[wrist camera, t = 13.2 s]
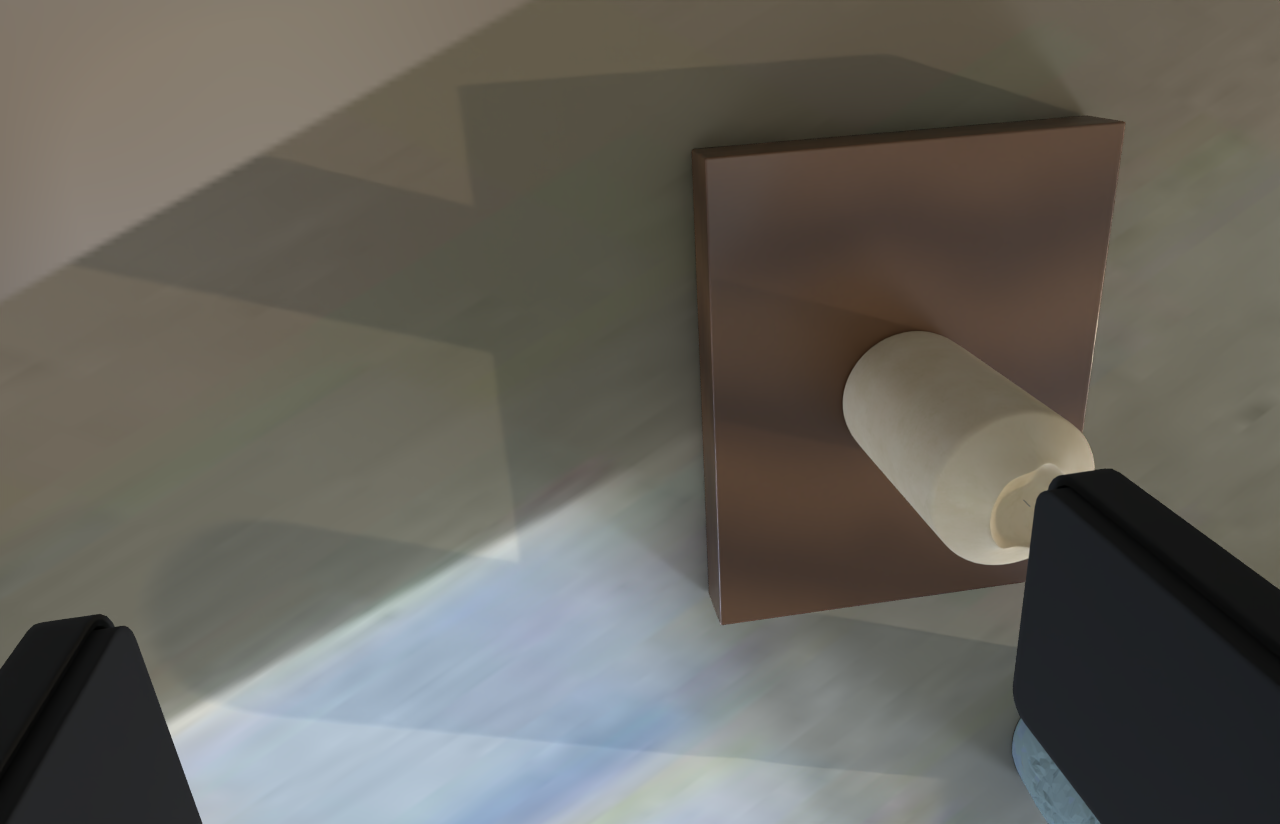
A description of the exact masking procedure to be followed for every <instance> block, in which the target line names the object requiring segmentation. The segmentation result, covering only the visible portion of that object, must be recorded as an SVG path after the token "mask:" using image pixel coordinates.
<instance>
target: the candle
mask: <svg viewBox="0 0 1280 824" xmlns="http://www.w3.org/2000/svg"><path fill="white" fill-rule="evenodd" d="M843 413H844V418H845V421H846V424H847V426H848V429H849V431H850V433H851V434H852V436H853V437H854V439H855V440H856V441H857V443H858V444H859V445H860V446H861V448H862V449H863V450H864V451H865V452H866V454H867V455H868V456H869V457H870V458H871V459H872V461H873V462H874V463H875V464H876V465H877V466H878V467H879V469H880V470H881V471H882V472H883V473H884V474H885V476H886V477H887V478H888V479H889V480H890V481H891V483H892V484H893V485H894V486H895V487H896V488H897V489H898V491H899V492H900V493H901V494H902V495H903V496H904V498H905V499H906V500H907V501H908V502H909V503H910V504H911V506H912V507H913V508H914V509H915V510H916V511H917V513H918V514H919V515H920V516H921V517H922V518H923V519H924V521H925V522H926V523H927V524H928V525H929V526H930V528H931V529H932V530H933V531H934V532H935V533H936V535H937V536H938V537H939V538H940V539H941V540H942V541H943V543H944V544H945V545H946V546H947V547H948V548H949V549H950V550H951V551H953V552H954V553H955V554H957V555H958V556H960V557H962V558H964V559H966V560H969V561H972V562H974V563H979V564H985V565H1003V564H1009V563H1015V562H1018V561H1021V560H1025V559H1027V558H1029V549H1030V541H1031V533H1032V525H1033V517H1034V508H1035V503H1036V499H1037V497H1038V495H1039V494H1040V493H1041V492H1043V491H1047V490H1048V487H1049V485H1050V483H1051V481H1052V480H1053V479H1054V478H1055V477H1057V476H1059V475H1065V474H1072V473H1078V472H1085V471H1092V470H1095V469H1094V459H1093V454H1092V451H1091V448H1090V445H1089V444H1088V442H1087V440H1086V438H1085V437H1084V435H1083V434H1082V433H1081V432H1080V431H1079V430H1078V429H1077V428H1076V427H1075V426H1074V425H1073V424H1071V423H1070V422H1069V421H1067V420H1066V419H1064V418H1063V417H1062V416H1060V415H1059V414H1057V413H1056V412H1054V411H1053V410H1051V409H1050V408H1049V407H1047V406H1046V405H1044V404H1043V403H1041V402H1040V401H1039V400H1037V399H1036V398H1034V397H1033V396H1031V395H1030V394H1029V393H1027V392H1026V391H1024V390H1023V389H1021V388H1020V387H1018V386H1017V385H1016V384H1014V383H1013V382H1011V381H1010V380H1008V379H1007V378H1006V377H1004V376H1003V375H1001V374H1000V373H998V372H997V371H995V370H994V369H993V368H991V367H990V366H988V365H987V364H985V363H984V362H983V361H981V360H980V359H978V358H977V357H975V356H974V355H973V354H971V353H970V352H968V351H967V350H965V349H964V348H962V347H961V346H959V345H958V344H956V343H954V342H953V341H951V340H950V339H948V338H946V337H943V336H941V335H938V334H935V333H931V332H925V331H910V332H903V333H900V334H896V335H893V336H891V337H888V338H886V339H884V340H883V341H881V342H879V343H877V344H876V345H875V346H873V347H872V348H871V349H869V350H868V351H867V352H866V353H865V354H864V355H863V356H862V357H861V358H860V360H859V361H858V362H857V364H856V365H855V366H854V368H853V370H852V371H851V373H850V375H849V377H848V380H847V382H846V385H845V389H844V394H843Z"/></svg>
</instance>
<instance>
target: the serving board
mask: <svg viewBox="0 0 1280 824" xmlns="http://www.w3.org/2000/svg"><path fill="white" fill-rule="evenodd" d="M1124 131H1125V122H1123V121H1118V120H1111V119H1105V118H1099V117H1093V116H1076V117H1064V118H1052V119H1041V120H1029V121H1017V122H1005V123H993V124H982V125H970V126H958V127H946V128H935V129H923V130H911V131H899V132H887V133H876V134H864V135H852V136H840V137H829V138H817V139H805V140H793V141H782V142H770V143H758V144H746V145H734V146H723V147H711V148H699V149H693V150H692V176H693V202H694V227H695V253H696V278H697V304H698V329H699V355H700V380H701V405H702V431H703V456H704V482H705V507H706V533H707V558H708V584H709V595H710V598H711V600H712V603H713V606H714V608H715V611H716V614H717V616H718V619H719V622H720V624H721V625H726V624H733V623H740V622H747V621H754V620H761V619H768V618H775V617H782V616H789V615H796V614H803V613H810V612H817V611H824V610H831V609H838V608H845V607H852V606H860V605H867V604H874V603H881V602H888V601H895V600H902V599H909V598H916V597H923V596H930V595H937V594H944V593H951V592H958V591H965V590H972V589H979V588H986V587H993V586H1000V585H1007V584H1014V583H1021V582H1026V574H1027V566H1028V558H1027V559H1025V560H1021V561H1018V562H1015V563H1009V564H1003V565H985V564H979V563H974V562H972V561H969V560H966V559H964V558H962V557H960V556H958V555H957V554H955V553H954V552H953V551H951V550H950V549H949V548H948V547H947V546H946V545H945V544H944V543H943V541H942V540H941V539H940V538H939V537H938V536H937V535H936V533H935V532H934V531H933V530H932V529H931V528H930V526H929V525H928V524H927V523H926V522H925V521H924V519H923V518H922V517H921V516H920V515H919V514H918V513H917V511H916V510H915V509H914V508H913V507H912V506H911V504H910V503H909V502H908V501H907V500H906V499H905V498H904V496H903V495H902V494H901V493H900V492H899V491H898V489H897V488H896V487H895V486H894V485H893V484H892V483H891V481H890V480H889V479H888V478H887V477H886V476H885V474H884V473H883V472H882V471H881V470H880V469H879V467H878V466H877V465H876V464H875V463H874V462H873V461H872V459H871V458H870V457H869V456H868V455H867V454H866V452H865V451H864V450H863V449H862V448H861V446H860V445H859V444H858V443H857V441H856V440H855V439H854V437H853V436H852V434H851V433H850V431H849V429H848V426H847V424H846V421H845V418H844V413H843V394H844V389H845V385H846V382H847V380H848V377H849V375H850V373H851V371H852V370H853V368H854V366H855V365H856V364H857V362H858V361H859V360H860V358H861V357H862V356H863V355H864V354H865V353H866V352H867V351H868V350H869V349H871V348H872V347H873V346H875V345H876V344H877V343H879V342H881V341H883V340H884V339H886V338H888V337H891V336H893V335H896V334H900V333H903V332H910V331H925V332H931V333H935V334H938V335H941V336H943V337H946V338H948V339H950V340H951V341H953V342H954V343H956V344H958V345H959V346H961V347H962V348H964V349H965V350H967V351H968V352H970V353H971V354H973V355H974V356H975V357H977V358H978V359H980V360H981V361H983V362H984V363H985V364H987V365H988V366H990V367H991V368H993V369H994V370H995V371H997V372H998V373H1000V374H1001V375H1003V376H1004V377H1006V378H1007V379H1008V380H1010V381H1011V382H1013V383H1014V384H1016V385H1017V386H1018V387H1020V388H1021V389H1023V390H1024V391H1026V392H1027V393H1029V394H1030V395H1031V396H1033V397H1034V398H1036V399H1037V400H1039V401H1040V402H1041V403H1043V404H1044V405H1046V406H1047V407H1049V408H1050V409H1051V410H1053V411H1054V412H1056V413H1057V414H1059V415H1060V416H1062V417H1063V418H1064V419H1066V420H1067V421H1069V422H1070V423H1071V424H1073V425H1074V426H1075V427H1076V428H1077V429H1078V430H1079V431H1080V432H1081V433H1082V434H1083V427H1084V420H1085V413H1086V406H1087V398H1088V391H1089V384H1090V377H1091V370H1092V362H1093V355H1094V348H1095V341H1096V333H1097V326H1098V319H1099V312H1100V304H1101V297H1102V290H1103V283H1104V276H1105V268H1106V261H1107V254H1108V247H1109V239H1110V232H1111V225H1112V218H1113V210H1114V203H1115V196H1116V189H1117V181H1118V174H1119V167H1120V160H1121V153H1122V145H1123V138H1124Z"/></svg>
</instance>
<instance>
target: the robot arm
mask: <svg viewBox="0 0 1280 824" xmlns="http://www.w3.org/2000/svg"><path fill="white" fill-rule="evenodd" d="M1013 696H1014V701H1015V705H1016V708H1017V710H1018V713H1019V715H1020V717H1021V719H1022V720H1023V722H1024V723H1025V725H1026V726H1027V727H1028V729H1029V730H1030V731H1031V733H1032V734H1033V735H1034V737H1035V738H1036V739H1037V741H1038V742H1039V743H1040V744H1041V746H1042V747H1043V748H1044V750H1045V751H1046V752H1047V754H1048V755H1049V756H1050V758H1051V759H1052V760H1053V762H1054V763H1055V764H1056V766H1057V767H1058V768H1059V770H1060V771H1061V772H1062V773H1063V775H1064V776H1065V777H1066V779H1067V780H1068V781H1069V783H1070V784H1071V785H1072V787H1073V788H1074V789H1075V791H1076V792H1077V793H1078V795H1079V796H1080V797H1081V798H1082V800H1083V801H1084V802H1085V804H1086V805H1087V806H1088V808H1089V809H1090V810H1091V812H1092V813H1093V814H1094V816H1095V817H1096V818H1097V820H1098V821H1099V822H1100V824H1280V590H1279V589H1278V588H1277V587H1275V586H1274V585H1272V584H1271V583H1270V582H1268V581H1267V580H1266V579H1264V578H1263V577H1262V576H1260V575H1259V574H1257V573H1256V572H1255V571H1253V570H1252V569H1251V568H1249V567H1248V566H1246V565H1245V564H1244V563H1242V562H1241V561H1240V560H1238V559H1237V558H1236V557H1234V556H1233V555H1231V554H1230V553H1229V552H1227V551H1226V550H1225V549H1223V548H1222V547H1221V546H1219V545H1218V544H1216V543H1215V542H1214V541H1212V540H1211V539H1210V538H1208V537H1207V536H1206V535H1204V534H1203V533H1201V532H1200V531H1199V530H1197V529H1196V528H1195V527H1193V526H1192V525H1190V524H1189V523H1188V522H1186V521H1185V520H1184V519H1182V518H1181V517H1180V516H1178V515H1177V514H1175V513H1174V512H1173V511H1171V510H1170V509H1169V508H1167V507H1166V506H1165V505H1163V504H1162V503H1160V502H1159V501H1158V500H1156V499H1155V498H1154V497H1152V496H1151V495H1150V494H1148V493H1147V492H1145V491H1144V490H1143V489H1141V488H1140V487H1139V486H1137V485H1136V484H1135V483H1133V482H1132V481H1130V480H1129V479H1128V478H1126V477H1125V476H1124V475H1122V474H1121V473H1119V472H1117V471H1115V470H1113V469H1099V470H1092V471H1085V472H1078V473H1072V474H1065V475H1059V476H1057V477H1055V478H1054V479H1053V480H1052V481H1051V483H1050V485H1049V487H1048V490H1047V491H1043V492H1041V493H1040V494H1039V495H1038V497H1037V499H1036V503H1035V508H1034V517H1033V525H1032V533H1031V541H1030V549H1029V558H1028V566H1027V574H1026V582H1025V590H1024V599H1023V607H1022V615H1021V623H1020V632H1019V640H1018V648H1017V656H1016V664H1015V673H1014V681H1013ZM0 824H202V821H201V818H200V816H199V813H198V810H197V807H196V805H195V802H194V799H193V796H192V793H191V791H190V788H189V785H188V782H187V780H186V777H185V774H184V771H183V768H182V766H181V763H180V760H179V757H178V755H177V752H176V749H175V746H174V743H173V741H172V738H171V735H170V732H169V730H168V727H167V724H166V721H165V718H164V716H163V713H162V710H161V707H160V704H159V702H158V699H157V696H156V693H155V691H154V688H153V685H152V682H151V679H150V677H149V674H148V671H147V668H146V666H145V663H144V660H143V657H142V654H141V652H140V649H139V646H138V643H137V641H136V638H135V636H134V634H133V632H132V631H131V630H130V629H129V628H128V627H126V626H119V627H114V625H113V623H112V621H111V620H110V619H109V618H108V617H107V616H104V615H101V614H97V615H90V616H83V617H76V618H69V619H62V620H55V621H49V622H42V623H38V624H35V625H33V626H32V627H31V628H30V629H29V630H28V631H27V633H26V634H25V635H24V637H23V638H22V640H21V641H20V642H19V644H18V645H17V647H16V648H15V649H14V651H13V652H12V654H11V655H10V656H9V658H8V659H7V661H6V662H5V663H4V665H3V666H2V668H1V669H0Z"/></svg>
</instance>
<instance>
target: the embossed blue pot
mask: <svg viewBox="0 0 1280 824" xmlns="http://www.w3.org/2000/svg"><path fill="white" fill-rule="evenodd" d="M1012 756H1013V759H1014V762H1015V766H1016V768H1017V771H1018V773H1019V775H1020V777H1021V779H1022V780H1023V782H1024V784H1025V786H1026V787H1027V789H1028V791H1029V793H1030V795H1031V796H1032V798H1033V800H1034V802H1035V803H1036V805H1037V807H1038V809H1039V810H1040V811H1041V813H1042V815H1043V816H1044V818H1045V819H1046V821H1047V822H1048V824H1100V822H1099V821H1098V820H1097V818H1096V817H1095V816H1094V814H1093V813H1092V812H1091V810H1090V809H1089V808H1088V806H1087V805H1086V804H1085V802H1084V801H1083V800H1082V798H1081V797H1080V796H1079V795H1078V793H1077V792H1076V791H1075V789H1074V788H1073V787H1072V785H1071V784H1070V783H1069V781H1068V780H1067V779H1066V777H1065V776H1064V775H1063V773H1062V772H1061V771H1060V770H1059V768H1058V767H1057V766H1056V764H1055V763H1054V762H1053V760H1052V759H1051V758H1050V756H1049V755H1048V754H1047V752H1046V751H1045V750H1044V748H1043V747H1042V746H1041V744H1040V743H1039V742H1038V741H1037V739H1036V738H1035V737H1034V735H1033V734H1032V733H1031V731H1030V730H1029V729H1028V727H1027V726H1026V725H1025V723H1024V722H1023V720H1022V719H1020V721H1019V723H1018V725H1017V727H1016V730H1015V733H1014V736H1013V743H1012Z"/></svg>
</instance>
